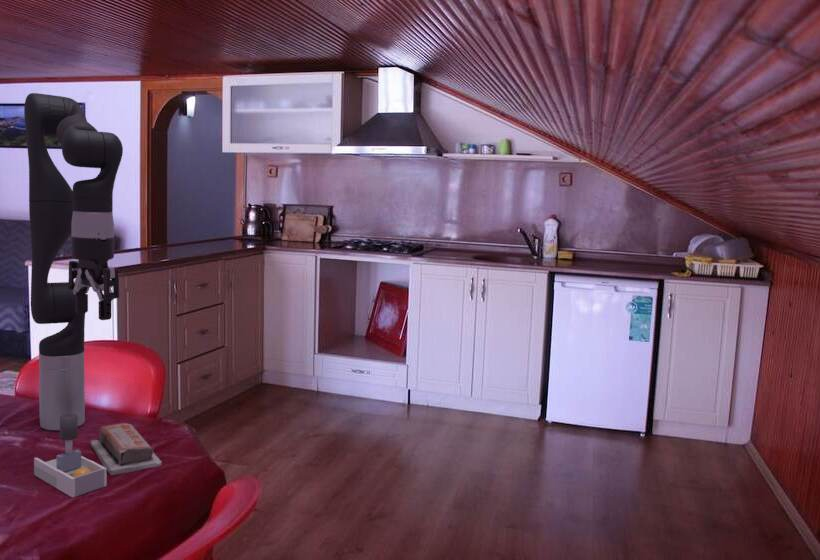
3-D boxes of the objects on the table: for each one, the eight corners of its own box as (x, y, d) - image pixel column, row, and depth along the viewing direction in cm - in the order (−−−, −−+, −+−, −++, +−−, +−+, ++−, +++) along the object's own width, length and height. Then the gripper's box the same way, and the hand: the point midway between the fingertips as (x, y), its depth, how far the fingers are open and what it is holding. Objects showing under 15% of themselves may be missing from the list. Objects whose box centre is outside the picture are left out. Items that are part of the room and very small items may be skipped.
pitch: (34, 475, 127) (34, 458, 127) (67, 464, 133) (67, 448, 132) (56, 488, 122) (56, 470, 122) (90, 477, 128) (90, 460, 127)
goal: (56, 488, 122) (56, 470, 122) (90, 477, 128) (90, 460, 127) (72, 497, 119) (72, 479, 119) (106, 485, 125) (106, 468, 124)
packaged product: (89, 425, 142) (137, 418, 148) (89, 447, 143) (137, 439, 149) (110, 454, 128) (162, 445, 134) (110, 478, 129) (162, 468, 135)
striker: (54, 469, 125) (53, 417, 124) (75, 463, 128) (74, 412, 127) (62, 474, 123) (62, 421, 122) (83, 467, 127) (83, 416, 125)
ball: (79, 479, 120) (75, 493, 122) (98, 473, 123) (94, 487, 124) (70, 467, 122) (66, 481, 123) (89, 461, 125) (85, 475, 126)
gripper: (54, 232, 130) (55, 312, 132) (94, 238, 122) (94, 324, 124) (91, 231, 136) (92, 308, 138) (131, 237, 128) (131, 319, 130)
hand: (93, 316), depth 131 cm, fingers open, 8 cm apart
